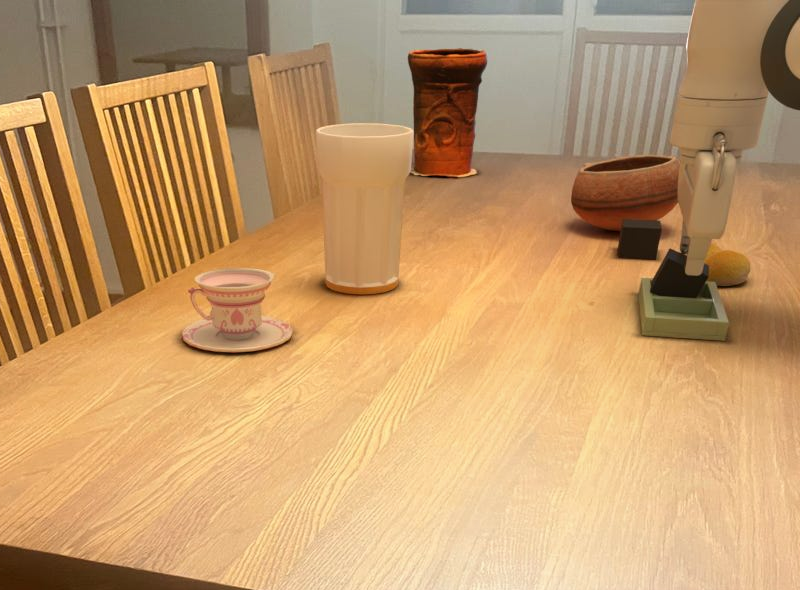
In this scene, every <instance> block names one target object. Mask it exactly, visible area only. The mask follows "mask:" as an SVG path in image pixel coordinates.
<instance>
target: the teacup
mask: <svg viewBox="0 0 800 590" xmlns="http://www.w3.org/2000/svg"><path fill="white" fill-rule="evenodd" d="M273 280H275V274H274V273H273V272H271V271H269V270H265V269H261V268H251V267H227V268H220V269H213V270H209V271H205V272H202V273H200V274H198V275H196V276H195V278H194V282H195V283H196V284H197V285H198V287H199V288H195V287H191V288H190V289H188V290H187V292H188V294H190V295H189V296H190V297H189V298H190V301H191V304H192V306H193V308H194V310H195V311H196V312H197V313H198V314H199V315H200V316H201V318H203V319H200V320H196V321H194V322H193V323H190V324H188V325H187V326H186V327H185V328H184V329H183V330H182V332H181V334H182V335H181V336H182V340H183V341H184V342H185V343H186V344H188V345H189V346H191V347H194V348H197V349H201V350H205V351H211V352H215V353H216V352H217V353H246V352H256V351H261V350H267V349H271V348H274V347H276V346H280V345H282V344H284V343H286V342H287V341H289V340H290V339H291V337H292V335H293V333H294V331H293V328H292V326H291V325H290V324H289V323H287V322H286V321H284V320H283V319H278V318H275V317H272V316H267V315H262V304H263V301H264V299H265V298H266V294H265V292H267V290H268V289H269V288H270V286H271V284H272V281H273ZM198 294H199V295H202V296H204V297H206V300H207V301H208V303H209V304H210V307H211V309H210V313H209V315H206V314H205V313H204V312H203V311H202V310H201V309H200V307H199V305H198V304H197V302H196V296H197V295H198Z"/></svg>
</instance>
